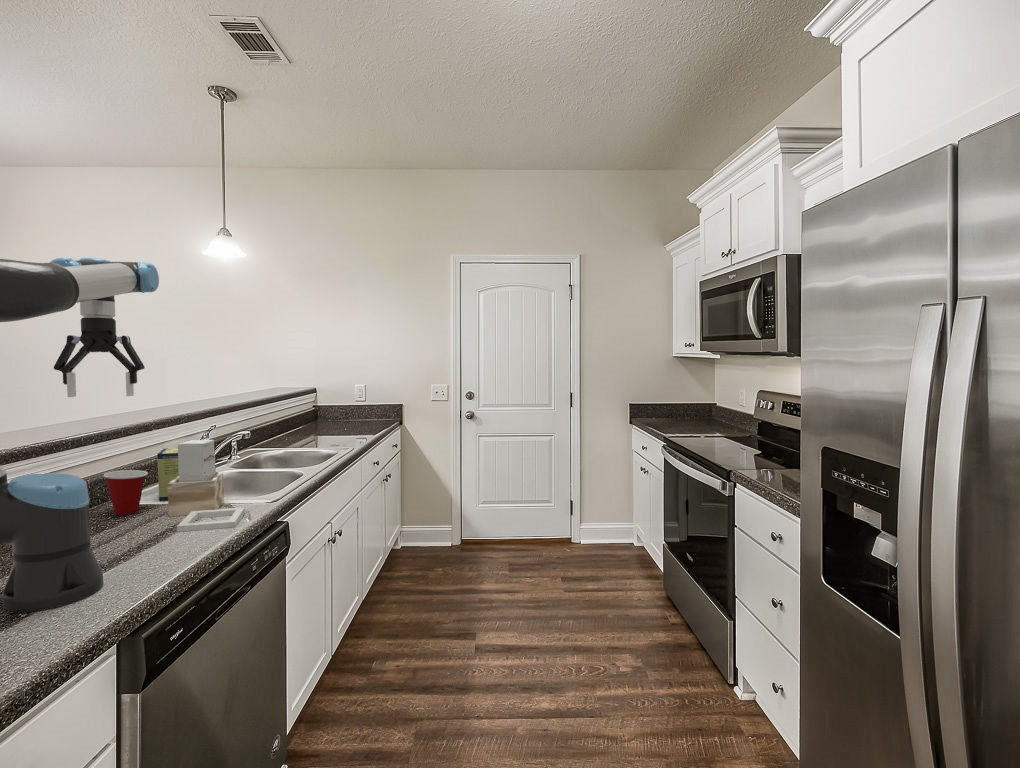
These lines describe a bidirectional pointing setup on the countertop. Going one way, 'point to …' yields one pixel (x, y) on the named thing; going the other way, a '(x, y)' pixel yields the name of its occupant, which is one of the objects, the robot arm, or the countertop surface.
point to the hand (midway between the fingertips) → (101, 396)
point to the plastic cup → (125, 490)
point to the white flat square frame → (191, 526)
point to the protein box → (167, 470)
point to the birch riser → (195, 495)
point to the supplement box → (196, 460)
